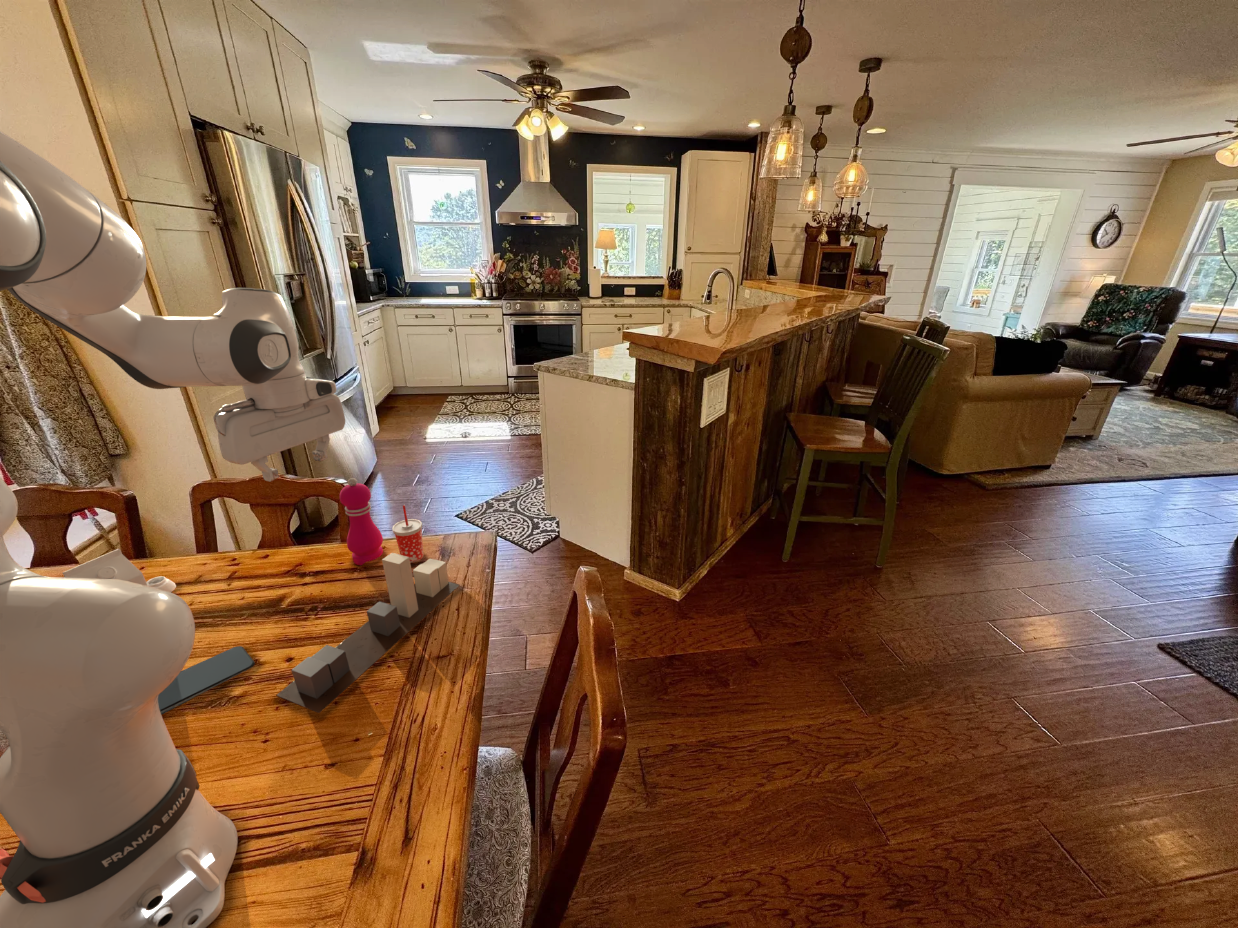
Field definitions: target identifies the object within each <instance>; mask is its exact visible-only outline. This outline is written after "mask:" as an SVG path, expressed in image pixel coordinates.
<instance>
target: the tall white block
mask: <svg viewBox="0 0 1238 928" xmlns="http://www.w3.org/2000/svg"><path fill="white" fill-rule="evenodd" d="M381 562H382V567H383V573H384V577H385V580H386V581H385V583H386V588H387V592H388V598H389V602H390V603H391V605H393V606H396V607H397V611H398V614H399V615H402V616H405V617H408V618H410V617H411V616H412V615H413V614H414V613H415V612H416V611H418V605H417V599H416V593H415V588H414V584H415V581H414V575H413V569H412V565H411V562H410V559H409V557H407V556H403V555H400V553H395V552H391V553H389V554H387V556H385V557H384V558H382V559H381Z"/></svg>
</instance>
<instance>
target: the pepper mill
mask: <svg viewBox="0 0 1238 928" xmlns="http://www.w3.org/2000/svg"><path fill="white" fill-rule="evenodd" d="M371 498H372V493H371V490H370V488H369V486H367V485H365V484H363V483H358V479H356V478H355V477H350V478H349V479H348V480H347V485H345V486H344V487H343V488H342V489H341V490H340V492H339V501H340V504H342V506H344V511H345V515H347V516H348V519H349V529H348V534H347V537H346V547H347V549H348V551H349V552H351V558H352V562H353V563H354V564H355V565H357V566H362V565H364V564H365V563H368V562H372V561H375V560H377V559H379V558H380V557H381V556H382V555H383V554H384V549H383V546H382V545H383V542H384V538H383V534H382V533H381V531H380V529H379V528H378V526H377V525H376V524H375V523H374V521H373V519H372V516H371V510H372V507H371V502H370V500H371Z"/></svg>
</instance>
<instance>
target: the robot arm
mask: <svg viewBox="0 0 1238 928" xmlns="http://www.w3.org/2000/svg"><path fill="white" fill-rule="evenodd" d="M146 273H147V257H146V252H145V249H144V245H143V243H142V239H140V237H139V236H138V234H137V233H136V232H135V230H134V229H133V228H132V227H131V226H130V225H129V224H128V223H127V221H126V220H125V219H124V218H123V217H122V216H120V215H119V213H117V212H116V211H115V210H114V209H113V208H111V206H108V204H107V203H106V202H104V201H103V200H102V199H100V198H99V197H97V196H96V195H94V194H93V193H92V192H91V191H89V190H88V189H87V188H85V187H84V186H83V185H82V184H80V183H79V182H78V181H76V180H75V179H73V178H72V177H71V176H69V174H67V173H66V172H64V171H63V170H61V169H60V168H58V167H57V166H56V165H54V164H52V163H51V162H50V161H49V160H47V159H46V158H44V157H43V156H41V155H40V154H38V153H36V152H35V151H34V150H32V149H30V148H29V147H27V146H26V145H24V144H22V143H21V142H19V141H18V140H16V139H14V137H13V138H12V137H11V136H10V135H8V134H6V133H4V132H2V131H1V130H0V292H2V291H6V290H7V291H8V292H9V293H10V294H11V295H12V296H13V297H14V298H15V299H16V300H17V301H18V302H20V304H22V305H24V306H25V307H26V308H27V309H29V310H31V311H32V312H34V313H35V314H37V315H39V316H40V317H42V318H43V319H45V320H46V321H48V322H49V323H51V324H53V325H54V326H57V327H58V328H60V329H61V330H64V331H65V332H67V333H69V334H70V335H72V336H74V337H75V338H77V339H78V340H81V341H82V342H84V343H86V344H87V345H89V346H91V347H92V348H94V349H95V350H97V351H99V352H101V353H103V354H104V355H106V356H107V357H108V358H110V360H112V361H113V362H114V363H115V364H117V366H118V367H120V368H121V370H123V372H125V373H126V374H127V375H128V376H129V377H130V378H131V379H133V380H134V381H135V382H137V383H138V384H140V385H142V386H145V387H147V388H150V389H154V390H167V389H179V388H187V387H189V388H190V387H192V388H193V387H195V388H196V387H239V386H240V387H242V390H243V393H244V394H243V395H244V398H245V399H243V400H240V401H237V402H233V403H226V404H224V405H221V406H220V407H219V409H218V410H217V411H216V412H215V413H214V415H213V418H212V419H213V423H214V425H215V429H216V431H217V438H218V444H219V450H220V454H221V457H222V459H224V461H227V462H229V463H231V464H236V465H241V466H243V465H246V464H249V463H250V464H251V465H252V466H254V467H255V468H256V469H257V470H259V471H260V472H261V475H262V478H263V480H264V481H266V482H269V483H270V482H273V481H276V480H279V478H280V475H279V471H278V468H273V467H269V466H268V465H267V463H269V459H268V457H269V456H272V455H275V454H277V453H280V452H284V451H286V450H289V449H291V448H294V447H297V446H300V445H303V444H306V443H309V442H311V441H316V447H315V450H313V451H311V454H312V456H313V460H314V461H315V462H322V461H325V460H328V459H329V456H328V452H327V450H328V448H329V444H330V441H331V438H330V435H331V434H334V433H337V432H340V431H343V430H344V428H345V425H346V417H345V411H344V407H343V404H342V402H341V399H340V397H339V396H338V395H337V394H336V392H337V385H336V382H335V381H331V380H327V379H320V378H315V377H309V376H307V375H306V371H305V369H304V367H303V365H302V363H301V361H300V357H299V347H300V346H299V341H298V337H297V334H296V333H297V332H296V329H295V326H294V323H293V320H292V317H291V313H290V312H289V309H288V307H287V304H286V303H285V300H284V298H283V297H282V296H281V294H280V293H277V292H275V291H273V290H269V289H263V288H253V287H231V288H228V289H224V290H223V291H222V292H221V304H222V307H221V309H220V310H219V311H217V312H216V313H214V314H213V316H164V315H149V314H142V313H137V312H134V311H132V310H131V309H129V308H128V306H127V307H126V306H125V305H126V304H127V303H128V302H129V301H131V299H132V298H133V297H134V296H136V294H137V292H138V291H139V290H140V288H141V287H142V285H143V283H144V279H145V277H146ZM18 510H19V503H18V500H17V497H16V494H15V493H14V492H13V490H12V489H11V488H10V487H9V485H7V483H6V482H5V480H4V479H3V478H2V477H1V476H0V731H1V732H2V734H3V735H5V737H6V739H7V741H8V745H9V746H8V747H7V749H6V750H5V751H4V753H2V755H1V756H0V814H1V816H2V817H3V819H4V820H5V821H6V822H7V824H8V825H9V827H10V828H11V830H12V831H13V832H14V834H15V835H16V837H17V838H18V839H19V843H18V846H17V849H16V851H15V853H14V855H10V853H9V852H8V851H7V850H5V849H4V848H0V883H1V885H2V886H3V888H4V890H3V892H2V893H1V895H0V928H207V927H209V926H210V924H212V923H213V922H214V921H215V920H216V919H217V918H218V917H219V915H220V914H221V913H222V910H223V908H224V904H225V892H226V890H225V889H226V888H225V883H226V880H227V877H228V874H229V872H230V870H231V867H232V865H233V863H234V859H235V858H236V854H237V850H238V843H239V836H238V835H239V834H238V830H237V828H236V825H235V823H234V822H233V821H232V819H230V818H229V817H228V816H226V815H225V814H223V813H221V812H220V811H218V810H217V809H216V808H214V807H213V805H211V804H210V802H209V801H208V800H207V799H206V798H205V796H204V795H203V794H202V792H201V791H200V790H199V789H200V783H199V781H198V779H197V773H196V770H195V768H194V766H193V764H192V763H191V761H190V759H189V758H188V756H187V755H186V754H185V753H184V751H183V750H182V749H178V748H176V746H175V744H174V742H173V739H172V737H171V734H170V732H169V731H168V727H167V725H166V723H165V721H164V718H163V716H162V714H161V713H160V710H159V705H158V695H159V694H160V693H161V692H162V691H163V690H164V689H165V688H167V687H168V686H169V685H170V684H171V683H172V682H173V680H174V679H175V678H176V677H177V676H178V674H179V673H180V672H181V671H183V670H184V667H185V666H186V664H187V662H188V661H189V658H190V656H191V653H192V651H193V648H194V644H195V639H196V621H195V618H194V615H193V612H192V610H191V607H190V606H189V605H188V603H187V602H186V601H185V600H184V599H183V598H182V597H180V596H179V595H177V594H175V593H173V592H171V593H170V592H167V591H163V590H160V589H156V588H153V587H149V586H145V585H141V584H137V583H133V582H129V581H124V580H119V579H92V578H65V577H64V576H63V577H61V576H59V577H57V576H47V575H41V574H39V573H36V572H33V571H31V570H29V569H28V568H26V567H23V566H22V565H20V564H19V563H18V562H17V561H16V560H15V559H14V558H13V557H12V555H11V553H10V552H9V549H8V547H7V545H6V543H5V540H4V535H5V534H7V532H8V531H9V529H10V528H11V526H12V525H13V524H14V523H15V520H16V518H17V516H18ZM194 921H195V922H194ZM193 922H194V923H193ZM192 923H193V924H192Z"/></svg>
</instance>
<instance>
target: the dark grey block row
mask: <svg viewBox="0 0 1238 928" xmlns="http://www.w3.org/2000/svg"><path fill="white" fill-rule="evenodd" d="M366 614H367V618H368V621H369V624H370V628H371V631H373V632H377V633H380V634H383V635H386V636H389V635H390V634H391V633H393V632H394V631H395V630H396V629H397V628H398V627H399V626H400V622H399V617H398V611H397V607H396V606H393V605H390V603H386V602H383V601H378V602H376V603H375V604H374V605H373V606H371V607H370V608H369V609H367V610H366ZM349 670H350V668H349V664H348V660H347V656H346V653H345V651H343V650H340V649H337V648H336V646H335V647H334V646H331V645H328V644H326V645H324V646H323V647H321V648H320V650H318V651H317V652H315V653H314V654H313V655H312V656H307V657H306V658H305V659H303V660H302V661H301V662H299V663H298V664H297V665H296V666H294V667H293V668H292V669H291V670H290V671H291V674H292V677H293V681H294V680H295V683H296V686H297V690H298V692H301V693H304V694H306V695H309V696H311V697H314V698H316V699H317V698H319V697H320V696H321V695H322V694H323V693H324V692H325V691H327V690H328V689H329V688H330V687H331V686H332V685H333V683H336V682H337V681H338V680H339V679H340V678H341V677H342V676H344V675H345V674H346V673H347V672H348V671H349Z"/></svg>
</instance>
